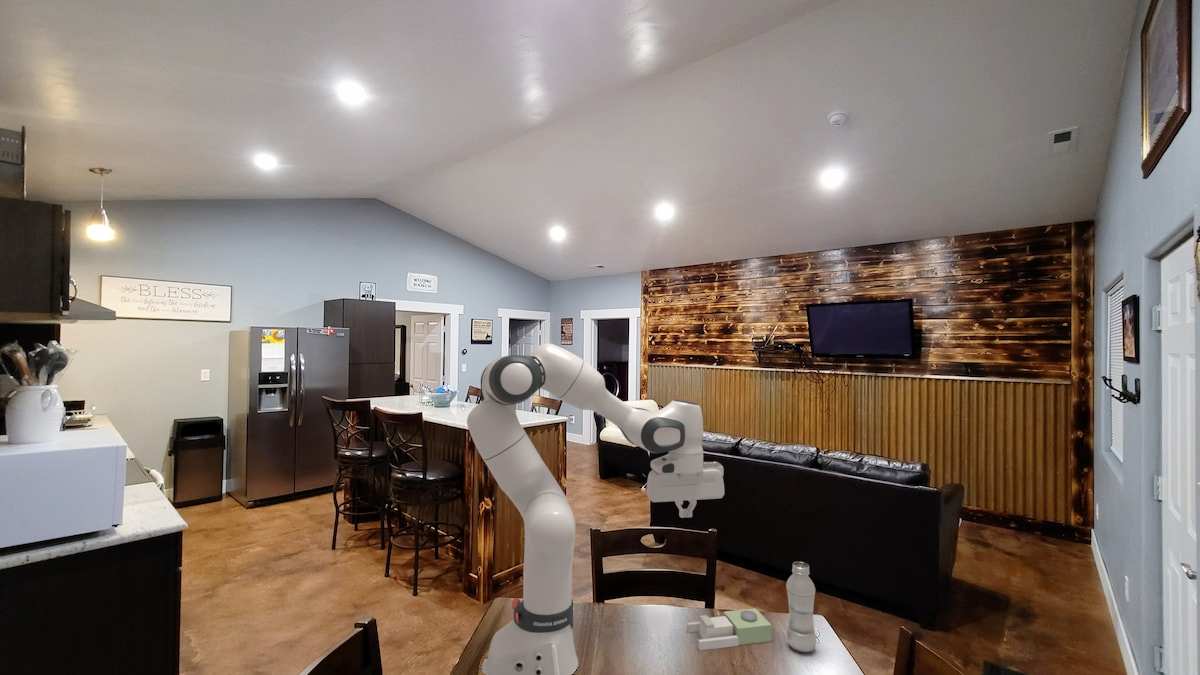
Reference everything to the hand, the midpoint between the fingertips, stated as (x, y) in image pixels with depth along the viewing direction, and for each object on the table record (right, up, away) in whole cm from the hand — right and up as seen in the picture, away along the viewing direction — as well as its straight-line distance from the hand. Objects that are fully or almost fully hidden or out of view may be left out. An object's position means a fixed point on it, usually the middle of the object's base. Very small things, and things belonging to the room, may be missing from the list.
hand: (685, 516), depth 127 cm
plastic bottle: (+27, -29, -7) cm, 40 cm away
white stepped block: (+7, -29, -3) cm, 30 cm away
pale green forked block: (+10, -29, -3) cm, 31 cm away
